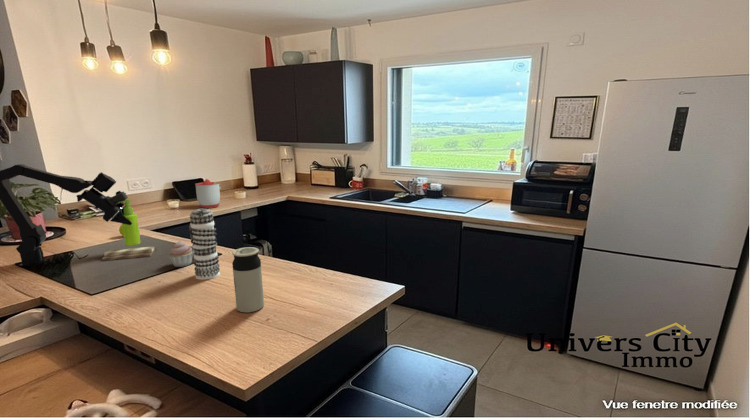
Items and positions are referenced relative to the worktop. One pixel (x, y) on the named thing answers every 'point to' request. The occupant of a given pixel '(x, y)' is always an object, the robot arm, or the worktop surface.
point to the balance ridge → (128, 253)
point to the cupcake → (181, 254)
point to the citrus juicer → (208, 194)
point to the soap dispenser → (130, 226)
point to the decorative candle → (204, 244)
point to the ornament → (121, 230)
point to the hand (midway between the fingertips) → (132, 222)
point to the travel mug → (248, 279)
